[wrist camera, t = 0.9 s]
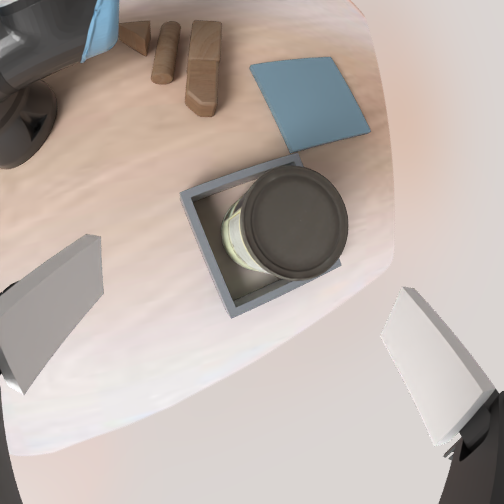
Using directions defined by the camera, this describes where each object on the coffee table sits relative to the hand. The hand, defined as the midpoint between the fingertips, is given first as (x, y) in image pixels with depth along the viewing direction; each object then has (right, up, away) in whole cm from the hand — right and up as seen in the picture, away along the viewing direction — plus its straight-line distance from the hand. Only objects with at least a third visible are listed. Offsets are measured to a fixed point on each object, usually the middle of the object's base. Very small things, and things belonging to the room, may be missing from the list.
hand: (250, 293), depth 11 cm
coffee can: (+1, +4, +27) cm, 27 cm away
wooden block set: (-14, +29, +24) cm, 41 cm away
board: (+10, +26, +29) cm, 41 cm away
